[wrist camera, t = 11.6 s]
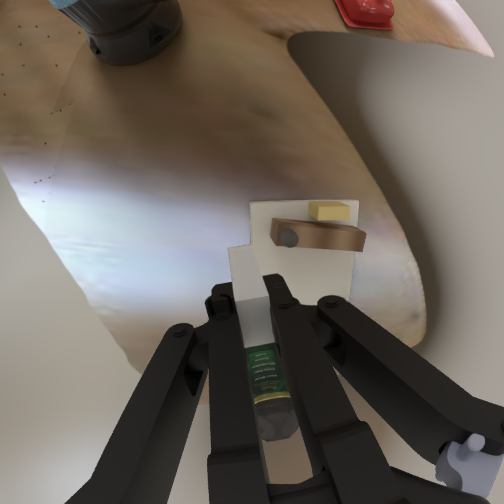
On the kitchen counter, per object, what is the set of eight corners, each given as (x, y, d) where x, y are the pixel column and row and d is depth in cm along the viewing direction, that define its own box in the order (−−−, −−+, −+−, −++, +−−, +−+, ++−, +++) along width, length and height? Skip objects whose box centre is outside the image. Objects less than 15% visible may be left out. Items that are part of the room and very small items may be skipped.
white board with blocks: (249, 201, 42) (256, 210, 35) (354, 199, 44) (377, 208, 37) (252, 313, 49) (258, 338, 42) (344, 303, 51) (361, 324, 44)
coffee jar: (238, 342, 51) (249, 419, 33) (278, 336, 51) (304, 409, 34) (244, 376, 54) (256, 448, 37) (281, 370, 55) (302, 439, 37)
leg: (269, 236, 42) (278, 250, 37) (272, 217, 41) (281, 228, 36) (350, 242, 44) (367, 255, 39) (353, 225, 43) (371, 236, 38)
